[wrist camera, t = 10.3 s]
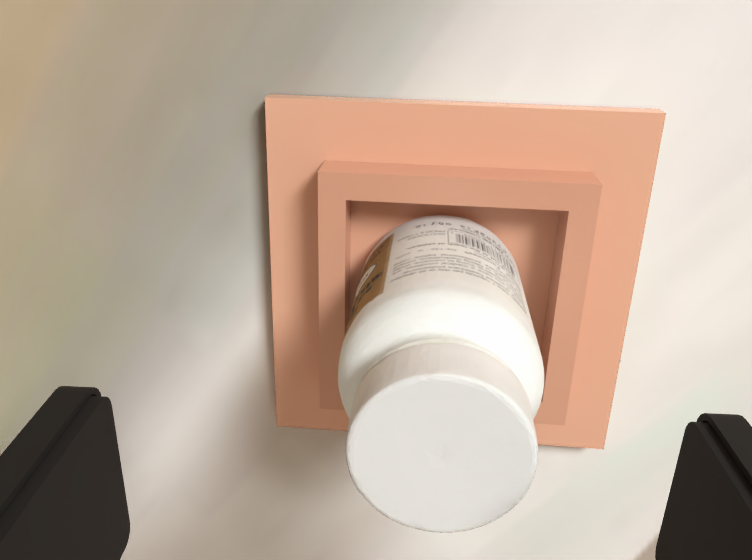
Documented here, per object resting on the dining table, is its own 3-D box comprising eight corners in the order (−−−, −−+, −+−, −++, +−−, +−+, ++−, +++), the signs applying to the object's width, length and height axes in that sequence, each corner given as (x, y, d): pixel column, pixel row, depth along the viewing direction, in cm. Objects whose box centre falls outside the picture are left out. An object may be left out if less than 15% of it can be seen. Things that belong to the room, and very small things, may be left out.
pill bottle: (345, 225, 19) (290, 369, 12) (508, 198, 18) (553, 333, 11) (377, 365, 21) (345, 566, 13) (528, 345, 20) (578, 544, 13)
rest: (280, 414, 22) (268, 449, 21) (270, 94, 18) (253, 105, 17) (599, 437, 22) (612, 474, 20) (658, 109, 18) (681, 121, 16)
